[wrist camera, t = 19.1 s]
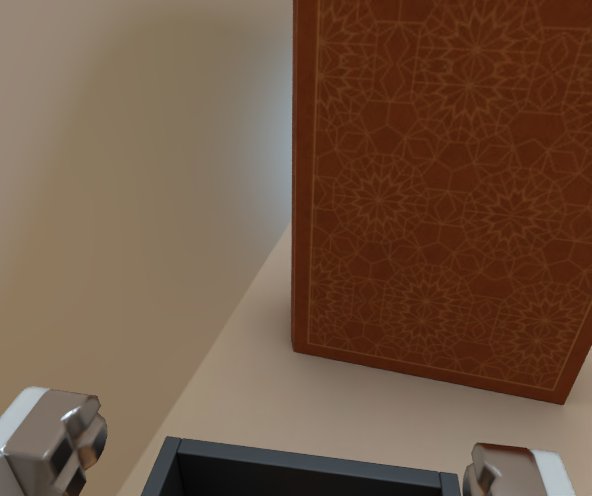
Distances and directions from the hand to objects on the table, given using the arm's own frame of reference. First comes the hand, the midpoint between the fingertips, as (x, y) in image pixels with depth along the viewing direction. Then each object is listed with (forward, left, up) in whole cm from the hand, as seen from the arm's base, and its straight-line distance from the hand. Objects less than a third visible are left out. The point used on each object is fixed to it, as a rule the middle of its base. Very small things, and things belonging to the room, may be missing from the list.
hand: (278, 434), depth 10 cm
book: (+8, +26, -21) cm, 34 cm away
